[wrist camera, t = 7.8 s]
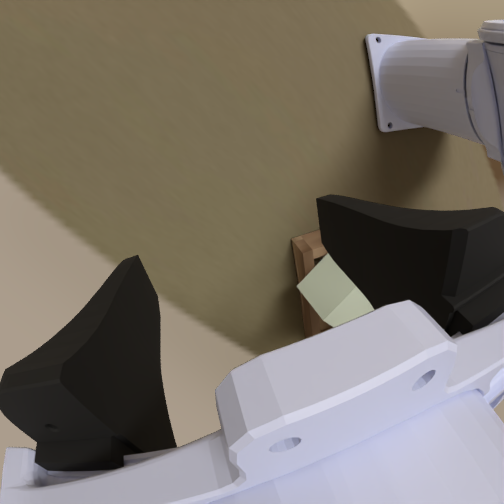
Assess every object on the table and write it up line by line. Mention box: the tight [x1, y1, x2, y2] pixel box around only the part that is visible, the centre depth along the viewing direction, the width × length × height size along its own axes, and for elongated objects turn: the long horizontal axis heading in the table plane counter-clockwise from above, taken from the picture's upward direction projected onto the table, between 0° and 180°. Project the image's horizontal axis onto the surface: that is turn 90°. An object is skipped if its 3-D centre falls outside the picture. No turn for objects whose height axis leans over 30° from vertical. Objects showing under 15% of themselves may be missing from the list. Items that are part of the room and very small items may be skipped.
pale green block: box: [297, 254, 374, 327], centre depth 23 cm, size 4×8×4 cm, turn 46°
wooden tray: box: [291, 230, 334, 338], centre depth 26 cm, size 8×12×2 cm
